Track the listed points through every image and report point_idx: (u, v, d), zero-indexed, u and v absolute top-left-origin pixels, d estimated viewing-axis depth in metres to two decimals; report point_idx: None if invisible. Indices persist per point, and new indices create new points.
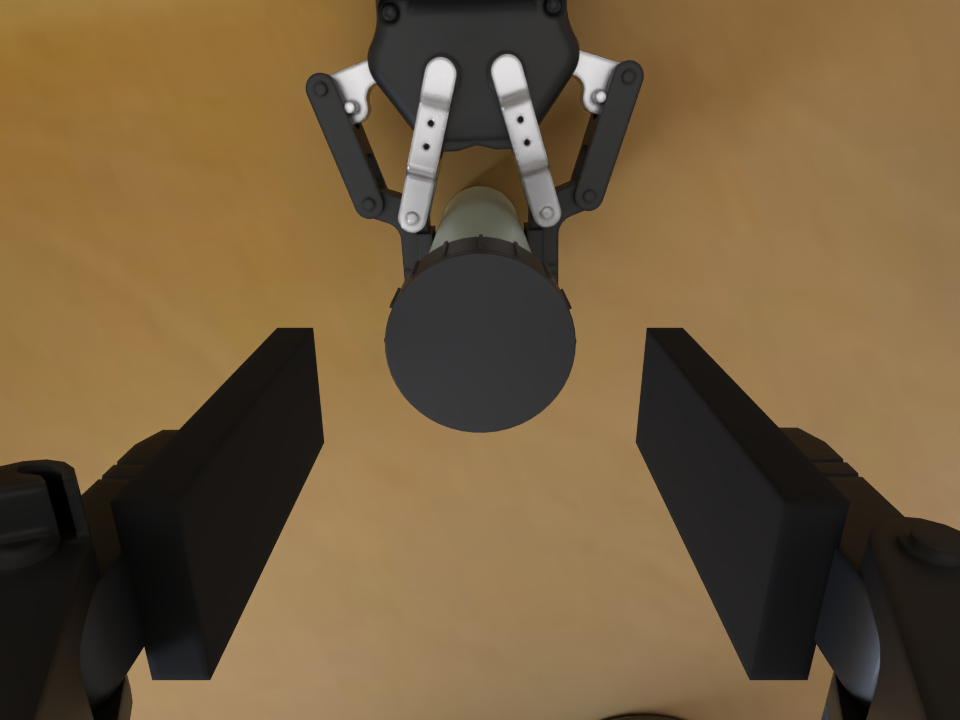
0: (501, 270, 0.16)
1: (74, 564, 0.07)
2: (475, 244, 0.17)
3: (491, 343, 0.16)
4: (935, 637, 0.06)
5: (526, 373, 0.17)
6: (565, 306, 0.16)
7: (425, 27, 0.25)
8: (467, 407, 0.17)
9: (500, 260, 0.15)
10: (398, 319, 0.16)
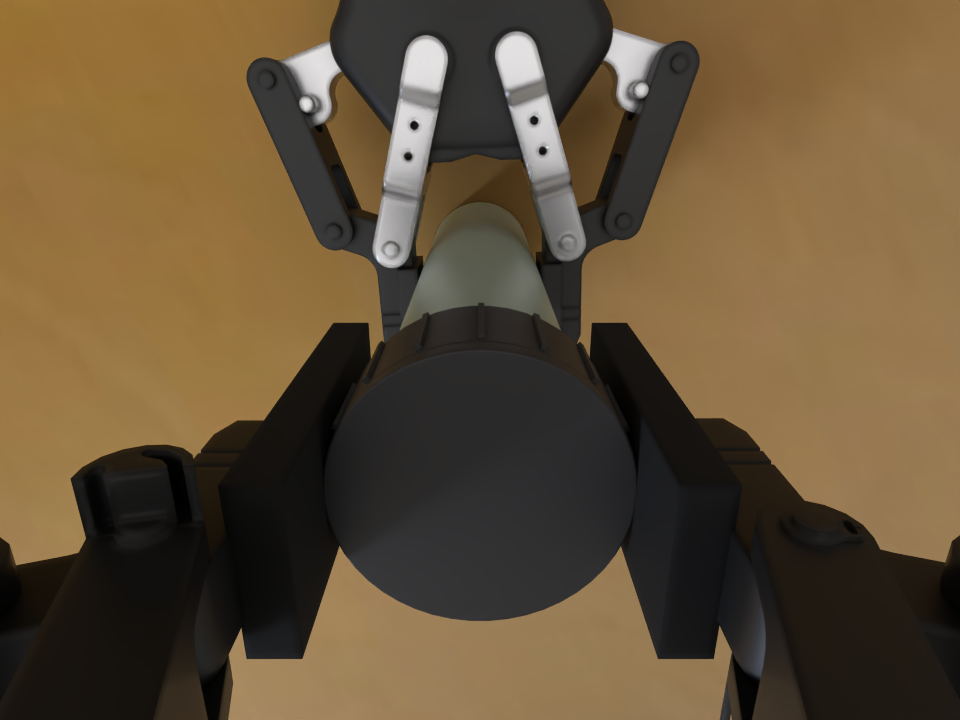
0: (516, 377, 0.09)
1: (190, 547, 0.07)
2: (472, 325, 0.10)
3: (498, 491, 0.10)
4: (812, 615, 0.06)
5: (555, 536, 0.10)
6: (623, 434, 0.09)
7: None
8: (459, 585, 0.10)
9: (514, 361, 0.09)
10: (343, 454, 0.10)
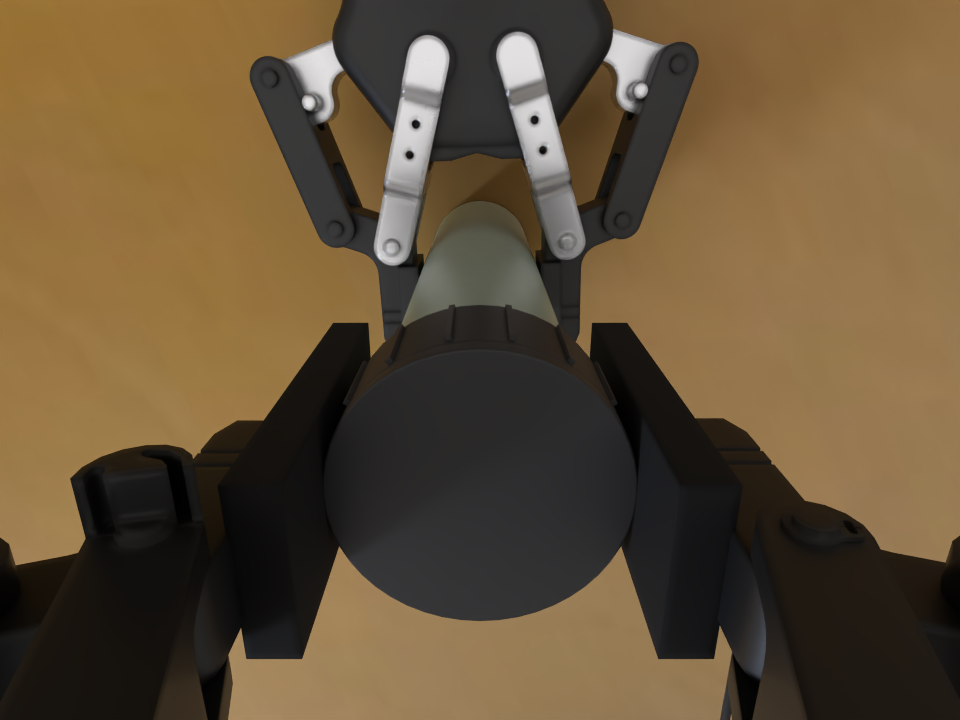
0: (356, 535, 0.10)
1: (190, 547, 0.07)
2: None
3: (463, 487, 0.10)
4: (812, 615, 0.06)
5: (474, 416, 0.09)
6: (338, 431, 0.09)
7: None
8: (584, 460, 0.10)
9: (345, 543, 0.10)
10: (511, 606, 0.11)
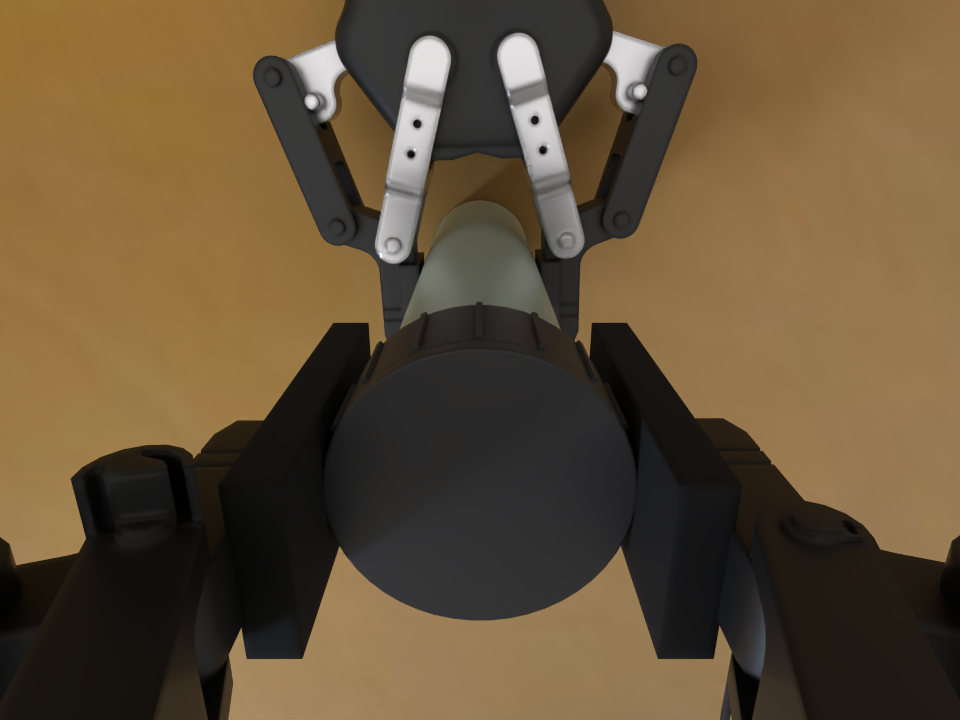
0: (583, 562, 0.10)
1: (190, 547, 0.07)
2: None
3: (480, 513, 0.10)
4: (813, 615, 0.06)
5: (411, 543, 0.10)
6: (493, 619, 0.11)
7: None
8: (384, 443, 0.10)
9: (598, 565, 0.10)
10: (580, 400, 0.09)
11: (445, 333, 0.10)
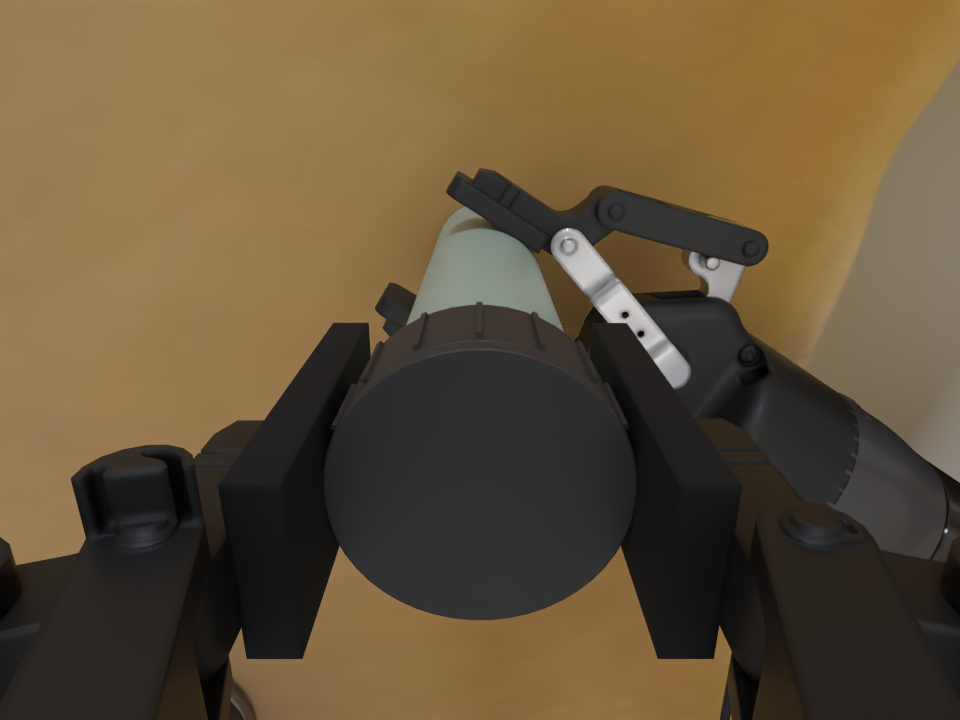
0: (583, 562, 0.10)
1: (190, 547, 0.07)
2: None
3: (480, 513, 0.10)
4: (812, 615, 0.06)
5: (411, 542, 0.10)
6: (493, 618, 0.11)
7: (713, 377, 0.23)
8: (384, 443, 0.10)
9: (598, 565, 0.10)
10: (580, 400, 0.09)
11: (445, 333, 0.10)
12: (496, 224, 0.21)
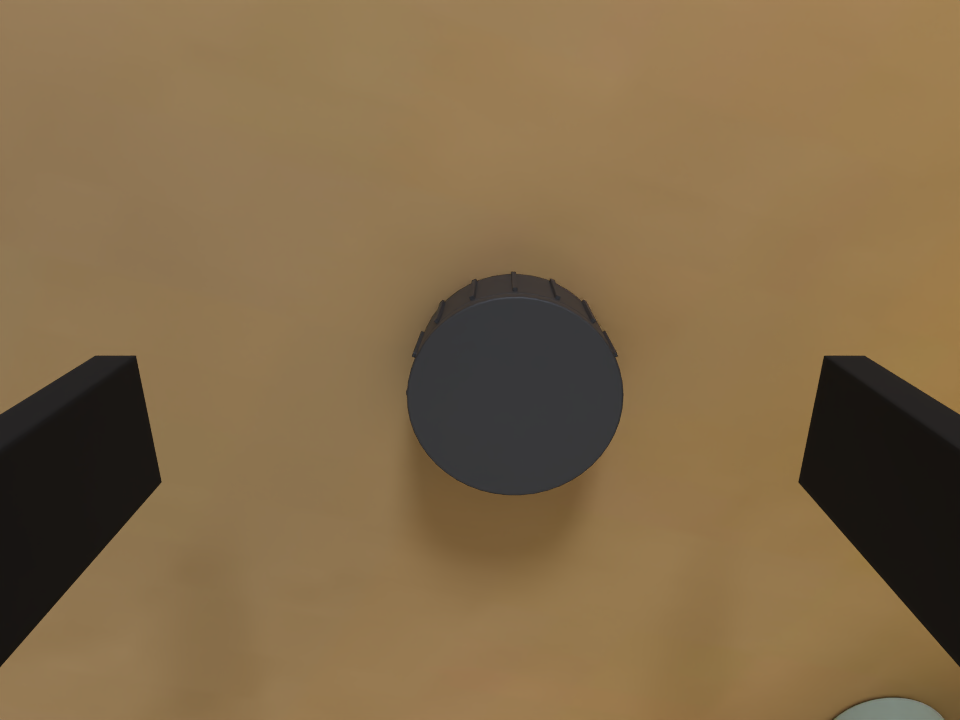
0: (586, 451, 0.15)
1: None
2: None
3: (514, 414, 0.15)
4: None
5: (466, 435, 0.15)
6: (522, 493, 0.15)
7: None
8: (450, 362, 0.14)
9: (596, 453, 0.15)
10: (583, 333, 0.14)
11: (491, 290, 0.14)
12: None
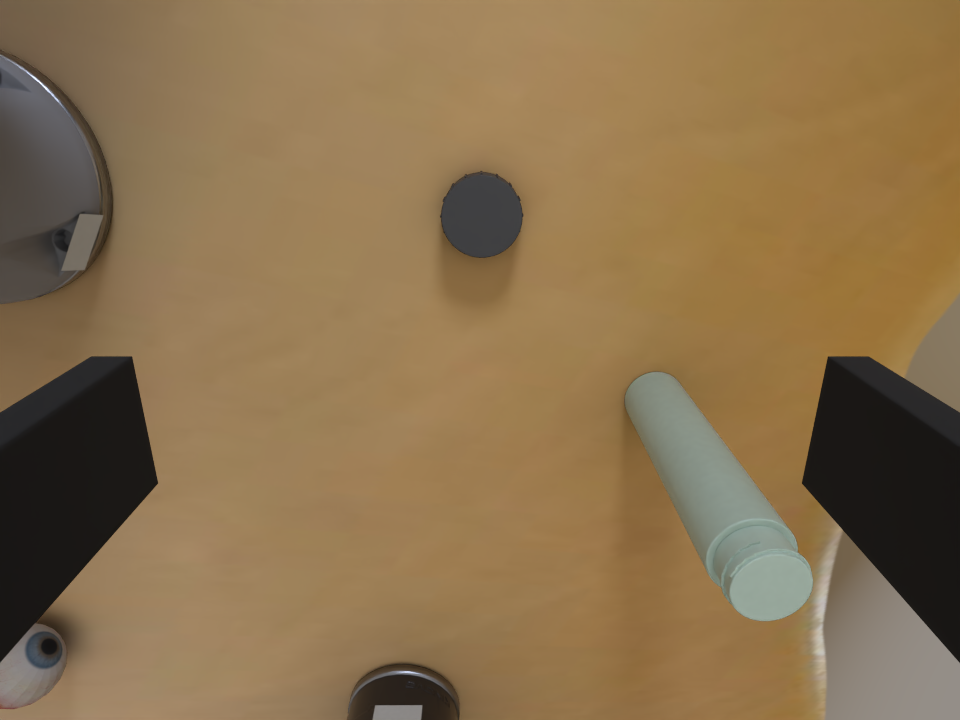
0: (509, 237, 0.39)
1: None
2: None
3: (481, 222, 0.38)
4: None
5: (463, 231, 0.39)
6: (485, 256, 0.39)
7: None
8: (457, 201, 0.38)
9: (513, 238, 0.39)
10: (506, 189, 0.38)
11: (472, 175, 0.38)
12: None
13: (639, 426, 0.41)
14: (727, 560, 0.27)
